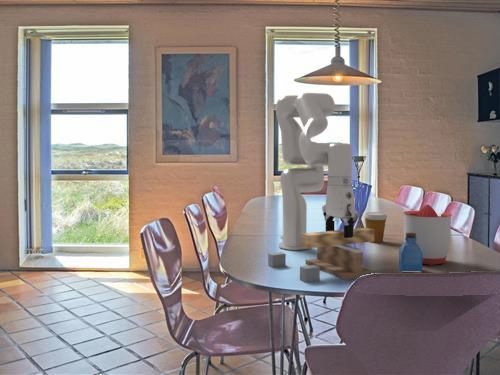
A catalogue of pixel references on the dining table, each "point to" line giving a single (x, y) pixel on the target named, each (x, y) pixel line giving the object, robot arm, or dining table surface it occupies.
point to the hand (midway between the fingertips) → (338, 235)
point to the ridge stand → (340, 261)
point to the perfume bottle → (410, 254)
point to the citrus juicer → (429, 233)
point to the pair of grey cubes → (306, 272)
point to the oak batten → (336, 238)
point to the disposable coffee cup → (376, 224)
